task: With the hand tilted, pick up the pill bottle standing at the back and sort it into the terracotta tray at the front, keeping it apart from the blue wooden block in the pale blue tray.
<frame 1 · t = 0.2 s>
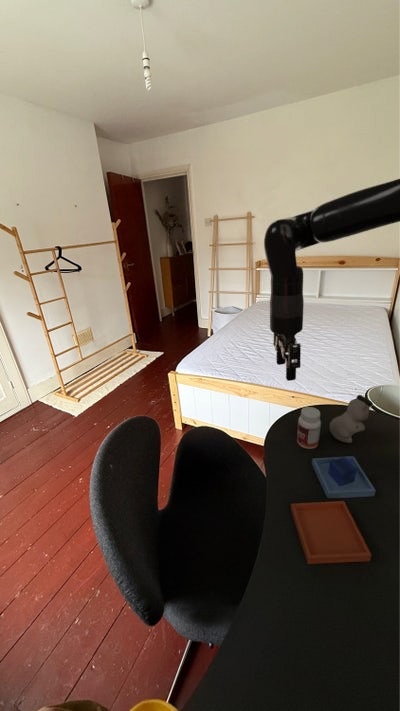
hand: (285, 371, 76), 26 cm above the table, tool pointing down, fingers open, 8 cm apart
terracotta tray: (326, 533, 64), on the table
pill bottle: (307, 443, 90), on the table
figurine: (346, 438, 90), on the table
blue block: (341, 477, 77), resting on blue tray
blue tray: (340, 478, 77), on the table
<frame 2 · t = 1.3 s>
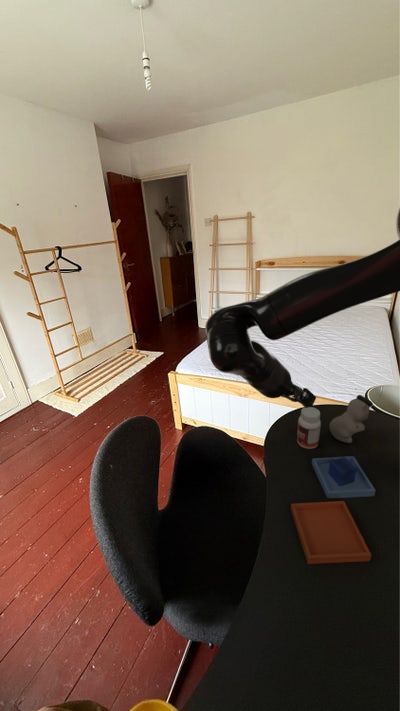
hand: (291, 397, 73), 22 cm above the table, tool tilted 45°, fingers open, 8 cm apart
nothing on the table moved.
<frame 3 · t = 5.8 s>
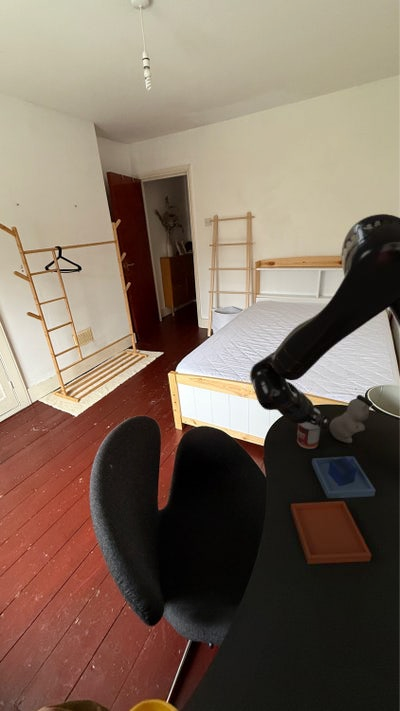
hand: (312, 420, 88), 7 cm above the table, tool tilted 45°, fingers closed on pill bottle, 6 cm apart
pill bottle: (307, 443, 90), on the table, touching gripper
everything else where it was.
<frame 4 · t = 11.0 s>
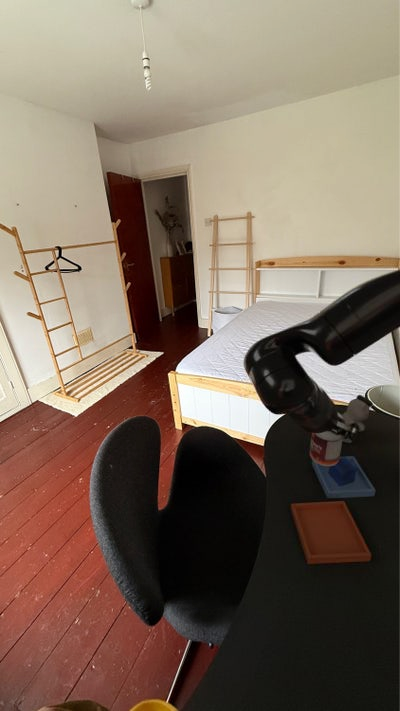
hand: (330, 427, 65), 20 cm above the table, tool tilted 45°, fingers closed on pill bottle, 6 cm apart
pill bottle: (323, 457, 67), point 13 cm above the table, touching gripper
everything else where it was.
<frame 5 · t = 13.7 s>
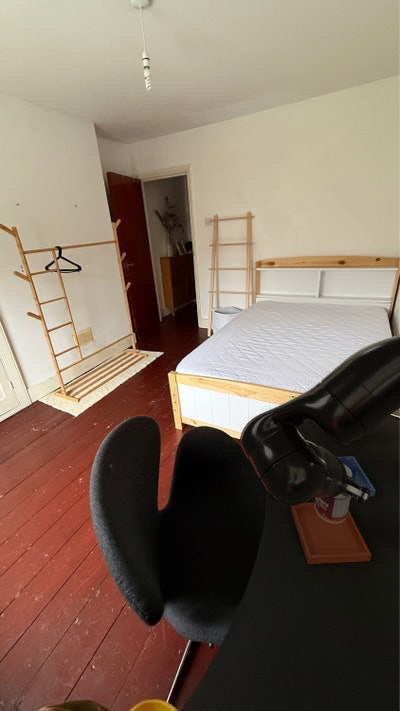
hand: (337, 480, 59), 15 cm above the table, tool tilted 45°, fingers closed on pill bottle, 6 cm apart
pill bottle: (330, 511, 61), point 7 cm above the table, touching gripper
everything else where it was.
when the fingers open (8 cm above the table, at t = 16.1 s): pill bottle stays where it is, resting on terracotta tray.
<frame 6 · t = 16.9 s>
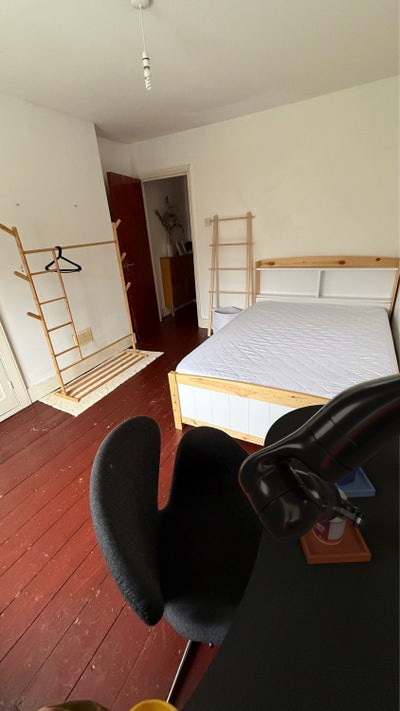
hand: (333, 500, 61), 9 cm above the table, tool tilted 45°, fingers open, 8 cm apart
pill bottle: (326, 532, 64), resting on terracotta tray
everything else where it was.
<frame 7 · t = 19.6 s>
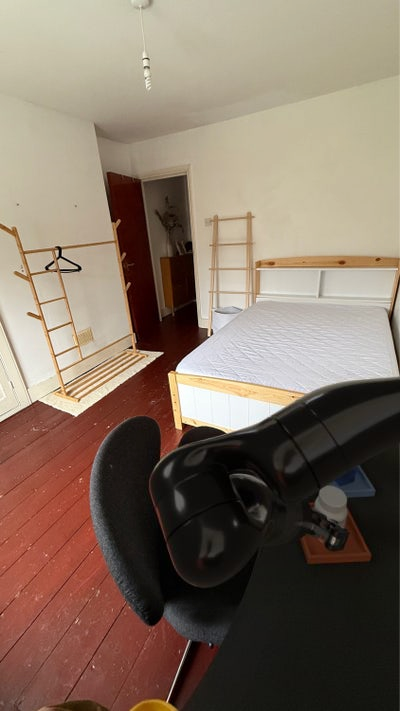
hand: (307, 510, 49), 19 cm above the table, tool tilted 45°, fingers open, 8 cm apart
nothing on the table moved.
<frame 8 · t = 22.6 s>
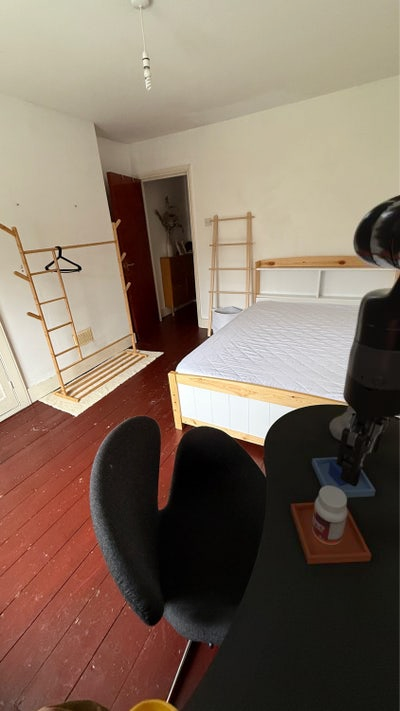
hand: (360, 465, 45), 28 cm above the table, tool pointing down, fingers open, 8 cm apart
nothing on the table moved.
at the end: pill bottle inside the target area in the terracotta tray (0.2 cm from its centre), point 0.3 cm above the terracotta tray's base; pill bottle tilted 0°; blue block moved 0.0 cm from its start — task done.
